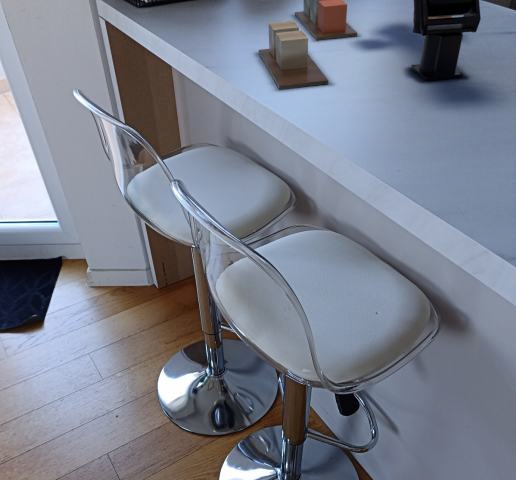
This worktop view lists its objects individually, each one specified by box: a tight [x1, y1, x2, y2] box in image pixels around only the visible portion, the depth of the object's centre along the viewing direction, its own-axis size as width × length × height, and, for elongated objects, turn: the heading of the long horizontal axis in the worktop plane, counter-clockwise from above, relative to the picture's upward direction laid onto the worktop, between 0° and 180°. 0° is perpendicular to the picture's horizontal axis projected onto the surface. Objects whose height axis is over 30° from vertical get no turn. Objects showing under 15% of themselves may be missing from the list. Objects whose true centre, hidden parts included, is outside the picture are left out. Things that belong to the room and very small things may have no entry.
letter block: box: [317, 0, 348, 33], centre depth 103 cm, size 4×4×4 cm
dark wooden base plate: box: [294, 0, 358, 41], centre depth 107 cm, size 19×8×5 cm, turn 10°
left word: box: [258, 19, 329, 90], centre depth 90 cm, size 19×8×5 cm, turn 10°
